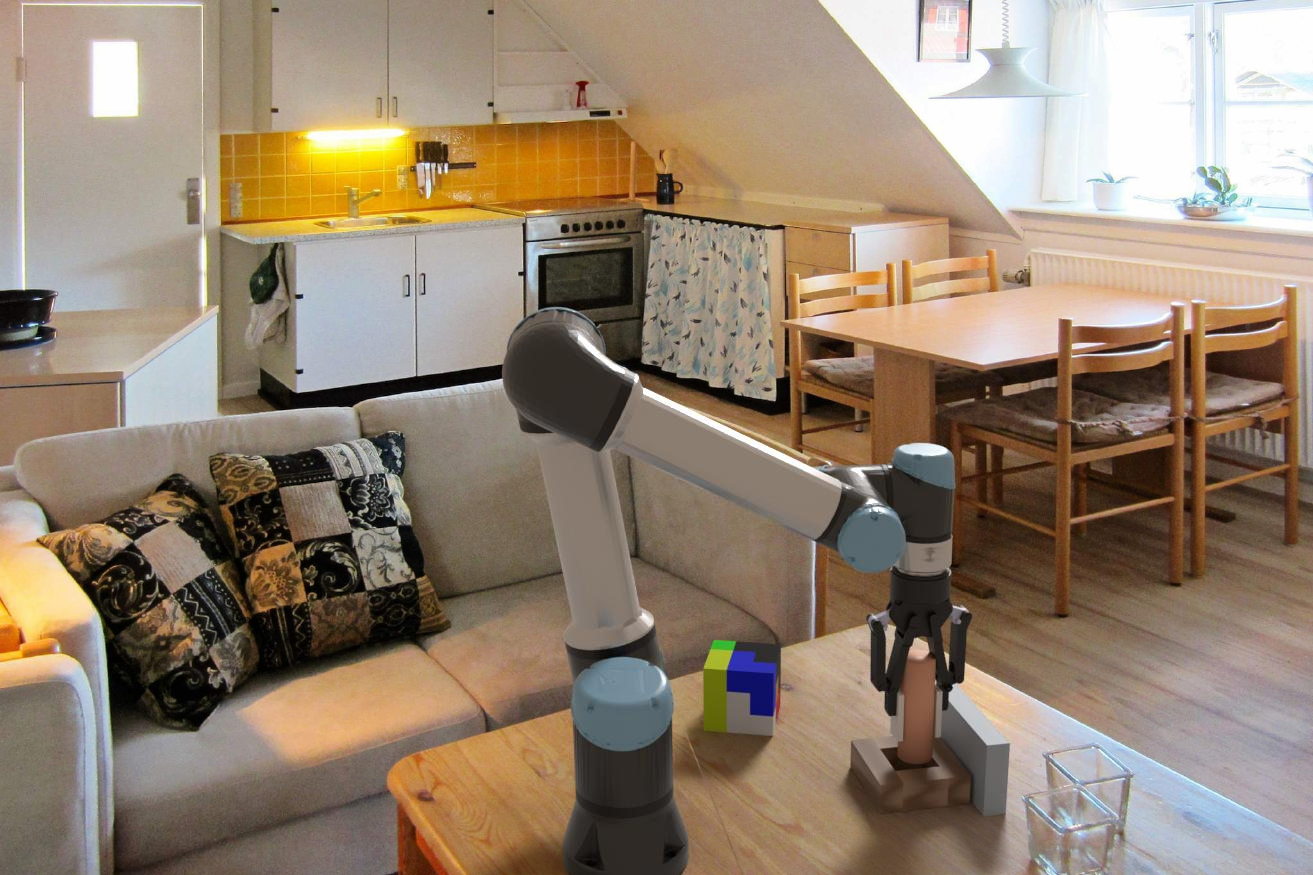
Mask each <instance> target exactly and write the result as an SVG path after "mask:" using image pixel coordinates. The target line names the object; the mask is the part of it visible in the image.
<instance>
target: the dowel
mask: <svg viewBox="0 0 1313 875" xmlns="http://www.w3.org/2000/svg"><path fill="white" fill-rule="evenodd" d="M935 669H936V658H935V657H934V656H933V655H932V654H931V653H930V652H929V650H927V651H926V650H922V649H910V650H909V654H908V657H907V661H906V665H905V669H904V673H903V677H902V680H901V684H900V688H899V689H900V691H901V692H902V693H903V694H904V723H903V741H899V742H898V749H897V755H898V757H899V759H901V760H902V761H904V762H907V763H911V764H924V763H927V762H929V761H930V760H931V759H932V752H933V725H934V697H935V683H936V680H935Z"/></svg>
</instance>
